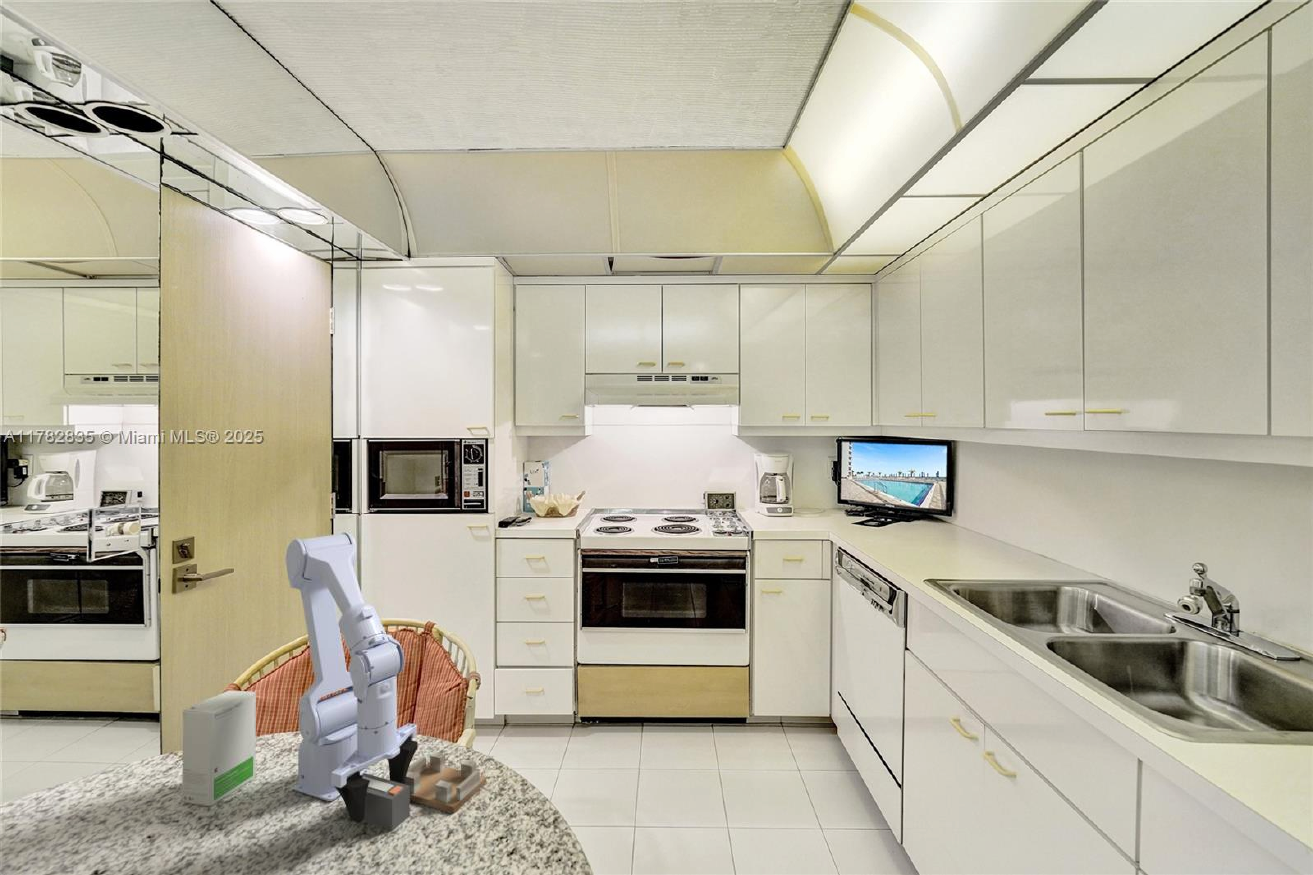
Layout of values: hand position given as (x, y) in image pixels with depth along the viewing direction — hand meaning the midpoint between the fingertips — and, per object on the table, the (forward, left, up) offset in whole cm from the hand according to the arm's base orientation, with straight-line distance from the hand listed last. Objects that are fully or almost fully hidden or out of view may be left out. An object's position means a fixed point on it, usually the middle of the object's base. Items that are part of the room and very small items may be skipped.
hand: (377, 804), depth 83 cm
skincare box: (-32, -4, -2) cm, 32 cm away
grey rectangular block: (0, 0, -2) cm, 2 cm away
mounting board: (+5, +9, -2) cm, 10 cm away
